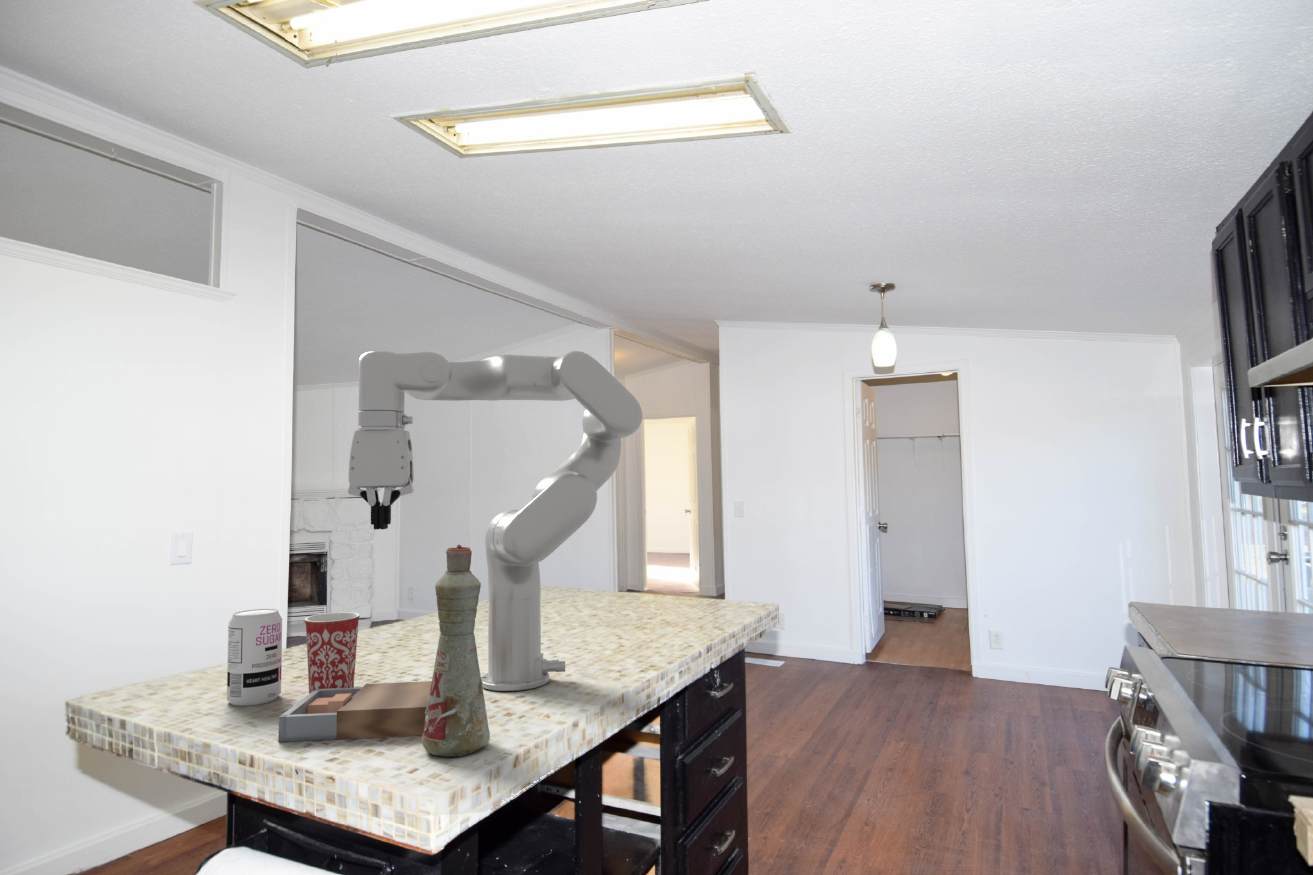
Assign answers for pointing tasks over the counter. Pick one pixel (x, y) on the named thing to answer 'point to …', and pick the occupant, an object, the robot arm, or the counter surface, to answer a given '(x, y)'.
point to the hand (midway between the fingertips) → (380, 528)
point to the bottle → (456, 666)
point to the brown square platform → (384, 711)
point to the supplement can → (254, 657)
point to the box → (311, 718)
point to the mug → (331, 650)
